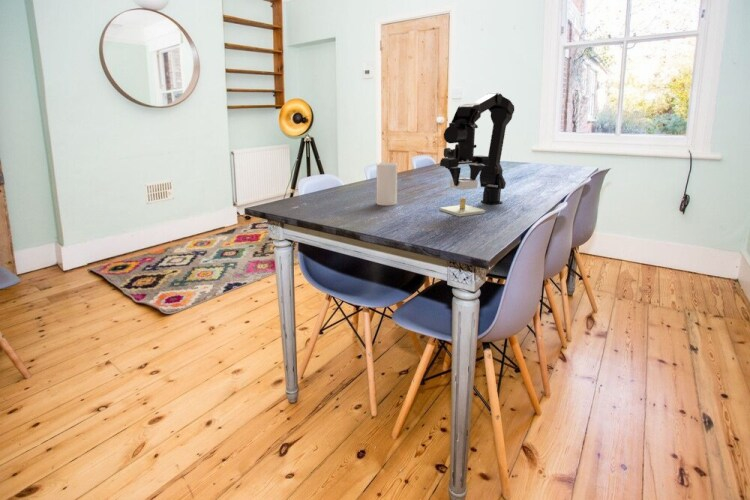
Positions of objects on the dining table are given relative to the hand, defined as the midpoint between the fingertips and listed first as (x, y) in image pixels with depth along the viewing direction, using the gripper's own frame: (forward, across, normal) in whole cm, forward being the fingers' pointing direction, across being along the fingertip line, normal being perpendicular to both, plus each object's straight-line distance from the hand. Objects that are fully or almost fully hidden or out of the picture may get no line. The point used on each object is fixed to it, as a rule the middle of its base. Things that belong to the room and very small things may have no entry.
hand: (463, 185), depth 169 cm
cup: (+10, +17, -27) cm, 33 cm away
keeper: (+10, 0, 0) cm, 10 cm away
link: (+1, 0, 0) cm, 1 cm away
